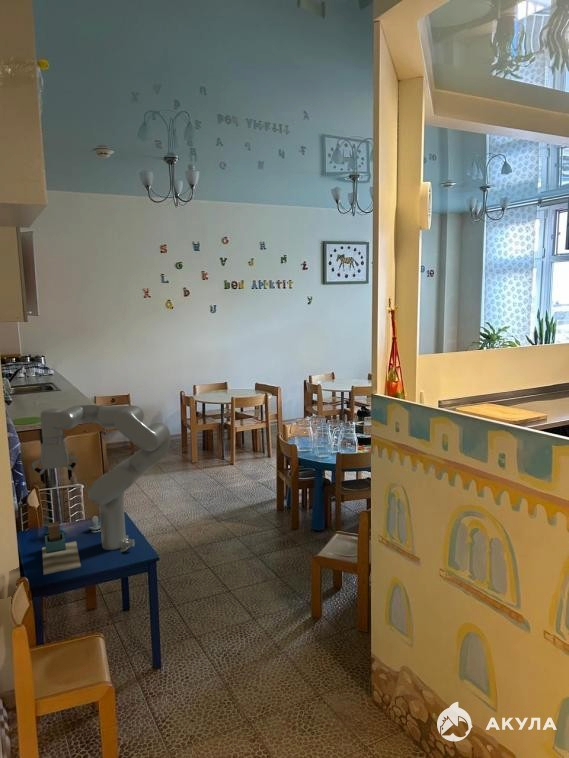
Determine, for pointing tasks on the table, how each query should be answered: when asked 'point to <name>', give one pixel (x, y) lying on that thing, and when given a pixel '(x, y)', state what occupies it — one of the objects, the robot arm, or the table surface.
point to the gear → (60, 529)
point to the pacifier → (95, 525)
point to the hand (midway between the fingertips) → (56, 480)
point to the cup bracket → (55, 544)
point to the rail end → (54, 531)
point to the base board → (61, 559)
